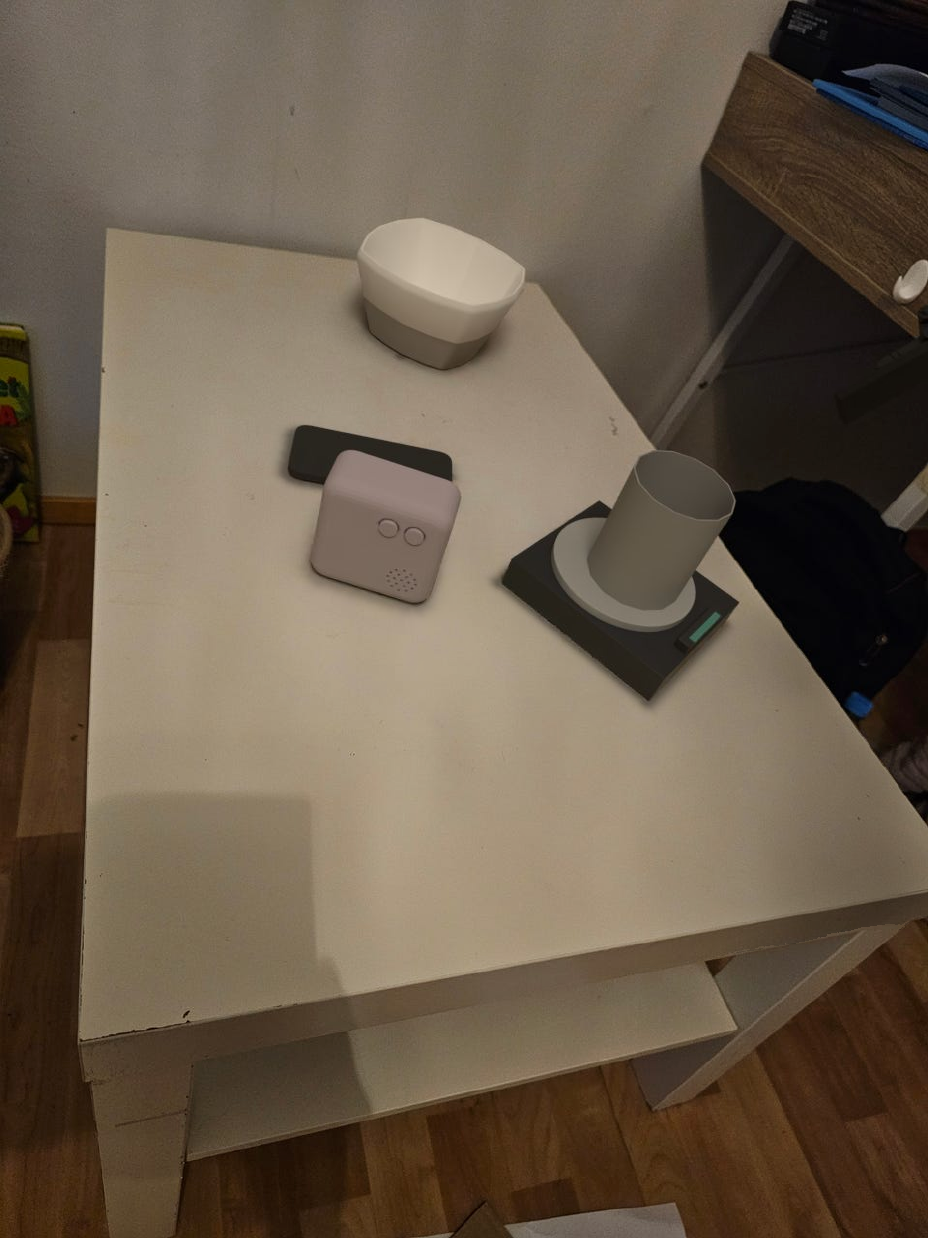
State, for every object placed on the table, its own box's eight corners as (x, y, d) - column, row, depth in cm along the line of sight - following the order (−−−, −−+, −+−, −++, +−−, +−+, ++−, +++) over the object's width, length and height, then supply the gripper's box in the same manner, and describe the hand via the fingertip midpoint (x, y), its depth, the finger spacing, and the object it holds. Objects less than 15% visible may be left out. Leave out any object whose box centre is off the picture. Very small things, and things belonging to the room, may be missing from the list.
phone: (296, 421, 78) (452, 453, 81) (296, 429, 79) (450, 459, 82) (286, 470, 73) (452, 502, 76) (285, 477, 74) (450, 508, 77)
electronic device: (304, 577, 66) (321, 480, 59) (320, 540, 70) (338, 444, 63) (424, 615, 67) (454, 523, 60) (435, 576, 70) (465, 485, 63)
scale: (723, 623, 76) (745, 593, 73) (648, 701, 67) (670, 670, 64) (587, 522, 81) (603, 491, 78) (501, 582, 72) (515, 549, 69)
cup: (667, 625, 68) (725, 537, 61) (576, 581, 69) (623, 488, 62) (686, 567, 74) (741, 479, 67) (602, 527, 75) (648, 436, 68)
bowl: (319, 328, 92) (331, 245, 85) (399, 281, 104) (415, 205, 97) (457, 401, 89) (481, 322, 82) (523, 344, 101) (548, 270, 95)
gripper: (1435, 459, 43) (1019, 650, 48) (1096, 232, 58) (808, 396, 64) (1501, 359, 37) (1022, 587, 43) (1106, 137, 53) (790, 325, 58)
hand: (893, 473), depth 53 cm, fingers open, 13 cm apart
